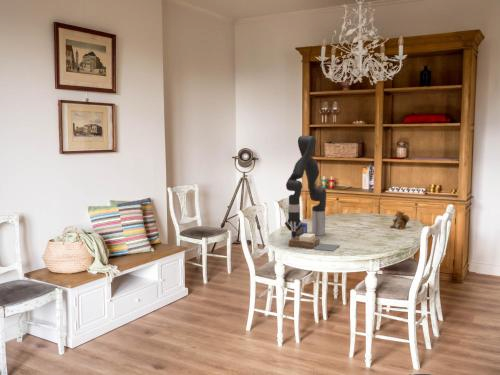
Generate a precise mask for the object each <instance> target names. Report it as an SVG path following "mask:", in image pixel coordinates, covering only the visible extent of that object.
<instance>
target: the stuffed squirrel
mask: <svg viewBox="0 0 500 375" xmlns="http://www.w3.org/2000/svg"><path fill="white" fill-rule="evenodd" d="M393 216H394V218H393V219H392V222H393V224H392V225H390V226H389V228H390V229H397V230H398V229H399V230H401V231H402V230H404V229H405V227H406V226H407V224H408V222H409V221H410V218H411V217H410V216H409V215H407V214H405V211H404V212H403V211H400V210H396V213H395V214H394V215H393Z"/></svg>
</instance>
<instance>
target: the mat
mask: <svg viewBox="0 0 500 375" xmlns="http://www.w3.org/2000/svg"><path fill="white" fill-rule="evenodd" d="M339 247H341V245H339V244H333V243H332V244H331V243H322V242H321V243H320V244H319V245H317V246H316V247H314V248H313V249H312V250H315V251H326V252H334V251H336V250H337V249H338V248H339Z"/></svg>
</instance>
